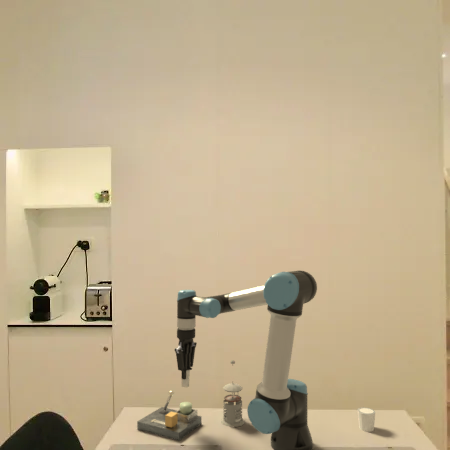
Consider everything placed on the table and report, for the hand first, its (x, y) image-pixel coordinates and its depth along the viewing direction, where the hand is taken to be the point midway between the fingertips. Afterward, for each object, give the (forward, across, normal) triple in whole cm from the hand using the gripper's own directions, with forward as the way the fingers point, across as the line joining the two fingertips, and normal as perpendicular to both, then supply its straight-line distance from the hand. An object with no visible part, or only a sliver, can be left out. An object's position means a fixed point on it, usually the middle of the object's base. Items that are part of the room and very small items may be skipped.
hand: (185, 386), depth 164 cm
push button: (+10, 0, 0) cm, 10 cm away
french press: (+16, -13, +16) cm, 25 cm away
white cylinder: (+15, -32, +66) cm, 74 cm away
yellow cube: (+12, +9, 0) cm, 15 cm away
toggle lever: (+12, 0, -10) cm, 16 cm away
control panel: (+16, +4, -4) cm, 17 cm away
